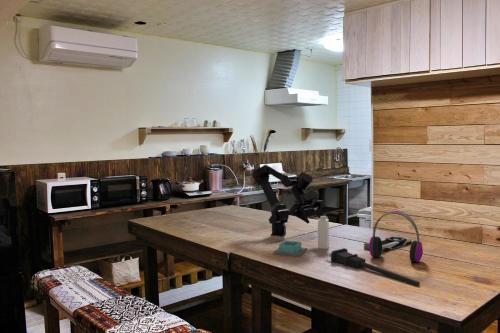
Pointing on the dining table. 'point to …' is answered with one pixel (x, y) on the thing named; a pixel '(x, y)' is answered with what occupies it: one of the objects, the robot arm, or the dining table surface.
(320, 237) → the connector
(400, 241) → the graphics card
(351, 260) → the electrical plug
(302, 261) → the dining table surface
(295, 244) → the holder board
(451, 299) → the dining table surface
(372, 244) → the headphones
